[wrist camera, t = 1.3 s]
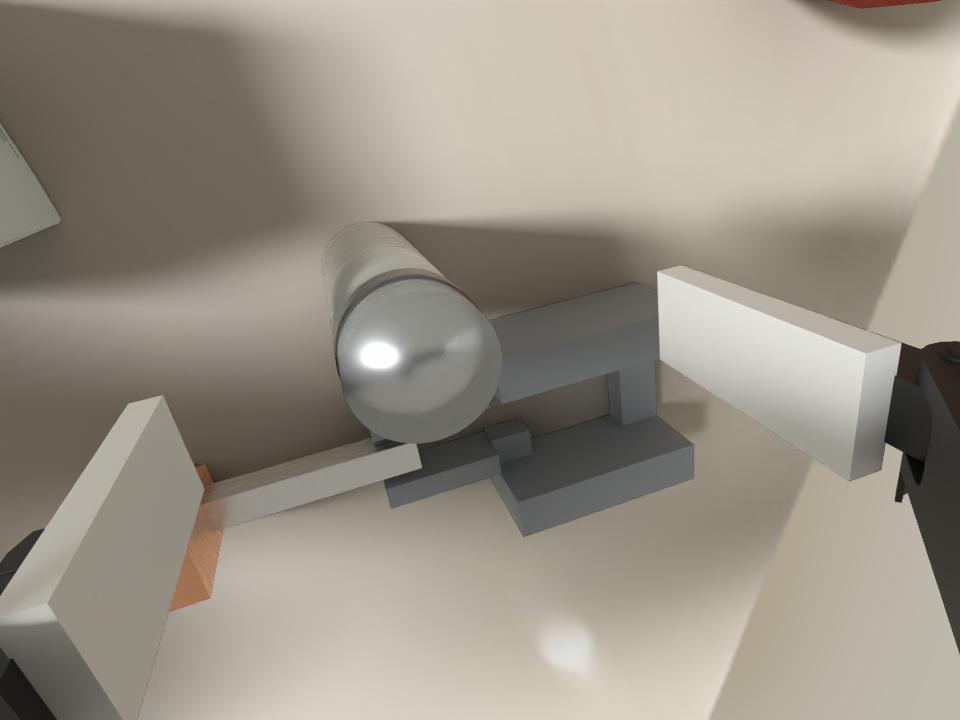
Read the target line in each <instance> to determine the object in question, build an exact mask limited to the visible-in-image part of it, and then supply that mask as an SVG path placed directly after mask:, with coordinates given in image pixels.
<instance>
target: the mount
mask: <svg viewBox="0 0 960 720" xmlns="http://www.w3.org/2000/svg"><path fill="white" fill-rule="evenodd" d="M488 321H489V322H490V323H491V325H492V327H493V328H494V330H495V332H496V334H497V337H498V340H499V343H500V347H501V353H502V370H501V376H500V380H499V384H498V387H497V389H496V392H495V394H494V396H493V398H492V399H491V401H492V400H495V399H498V400H499V401H500V403H501V404H505V403H509V402H512V401H515V400H519V399H522V398H526V397H529V396H533V395H536V394H540V393H543V392H546V391H550V390H553V389H557V388H560V387H564V386H567V385H570V384H574V383H577V382H581V381H584V380H588V379H591V378H594V377H598V376H601V375H605V374H607V379H608V393H609V406H610V415H607V416H604V417H600V418H597V419H594V420H591V421H587V422H584V423H581V424H578V425H574V426H571V427H568V428H565V429H561V430H558V431H555V432H552V433H548V434H545V435H542V436H539V437H535V438H532V439H531V437H530V430H529V429H528V427H527V426H526V425H525V423H524V422H523V421H522V420H521V418H517V419H513V420H510V421H507V422H503V423H500V424H497V425H493V426H490V427H487V428H483V429H484V432H481V433H477V434H474V435H471V436H467V437H464V438H461V439H457V440H454V441H451V442H447V443H444V444H441V445H437V446H434V447H431V448H427V449H424V450H421V451H418V453H419V457H420V461H421V465H422V468H420V469H417V470H414V471H411V472H407V473H404V474H401V475H398V476H394V477H391V478H388V479H385V480H384V483H385V487H386V491H387V495H388V498H389V502H390V506H391V509H392V508H395V507H398V506H401V505H404V504H407V503H411V502H414V501H417V500H420V499H423V498H426V497H429V496H433V495H436V494H439V493H442V492H445V491H448V490H451V489H455V488H458V487H461V486H464V485H467V484H470V483H474V482H477V481H480V480H483V479H486V478H489V477H492V478H493V483H494V485H495V487H496V489H497V491H498V492H499V494H500V496H501V498H502V499H503V501H504V503H505V505H506V507H507V508H508V510H509V512H510V514H511V516H512V517H513V519H514V521H515V523H516V524H517V526H518V528H519V530H520V532H521V533H522V535H523V537H525V536H528V535H531V534H534V533H537V532H540V531H542V530H545V529H548V528H551V527H554V526H557V525H560V524H563V523H566V522H569V521H571V520H574V519H577V518H580V517H583V516H586V515H589V514H592V513H595V512H598V511H601V510H603V509H606V508H609V507H612V506H615V505H618V504H621V503H624V502H627V501H630V500H632V499H635V498H638V497H641V496H644V495H647V494H650V493H653V492H656V491H659V490H661V489H664V488H667V487H670V486H673V485H676V484H679V483H682V482H685V481H688V480H691V479H693V478H694V444H692V443H691V442H690V441H689V440H687V439H686V438H685V437H683V436H682V435H681V434H680V433H678V432H677V431H676V430H675V429H673V428H672V427H671V426H669V425H668V424H667V423H666V422H664V421H663V420H662V419H660V418H659V417H658V416H657V415H656V387H655V360H656V359H660V344H659V312H658V291H656V290H654V289H652V288H649V287H647V286H645V285H642V284H640V283H638V282H635V283H631V284H628V285H624V286H620V287H616V288H612V289H608V290H604V291H600V292H597V293H593V294H589V295H585V296H581V297H577V298H573V299H569V300H566V301H562V302H558V303H554V304H550V305H546V306H542V307H538V308H535V309H531V310H527V311H523V312H519V313H515V314H511V315H507V316H504V317H500V318H496V319H492V320H488ZM487 409H490V403H489V404H488V406H487V407H486V408H485V410H487ZM369 431H370V434H371V438H372V441H373V442H377V441H380V440H384V439H387V438H384V437H381V436H380V435H378V434H376V433H374V432H372V431H371V430H370V429H369Z"/></svg>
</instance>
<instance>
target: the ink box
mask: <svg viewBox="0 0 960 720" xmlns="http://www.w3.org/2000/svg"><path fill="white" fill-rule="evenodd" d="M60 222H61V218H60V216H59V214H58V212H57V211H56V209H55V207H54V206H53V204H52V202H51V201H50V199H49V197H48V196H47V194H46V192H45V191H44V189H43V188H42V186H41V184H40V183H39V181H38V180H37V178H36V176H35V175H34V173H33V172H32V170H31V168H30V167H29V165H28V164H27V162H26V161H25V159H24V158H23V156H22V155H21V153H20V152H19V150H18V149H17V147H16V146H15V144H14V143H13V141H12V140H11V138H10V137H9V135H8V134H7V132H6V131H5V129H4V127H3V126H2V124H1V123H0V248H1V247H4V246H6V245H8V244H11V243H13V242H15V241H18V240H20V239H23V238H25V237H27V236H30V235H32V234H34V233H36V232H39V231H41V230H43V229H46V228H48V227H51V226H54V225H56V224H58V223H60Z"/></svg>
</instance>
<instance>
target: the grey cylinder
mask: <svg viewBox="0 0 960 720" xmlns="http://www.w3.org/2000/svg"><path fill="white" fill-rule="evenodd" d="M322 274H323V280H324V286H325V292H326V297H327V303H328V309H329V315H330V321H331V326H332V332H333V346H334V354H335V360H336V366H337V370H338V374H339V377H340V380H341V384H342V389H343V393H344V396H345V399H346V401H347V404H348V405H349V407H350V409H351V411H352V412H353V413H354V415H355V416H356V417H357V419H358V420H359V421H360V422H361V423H362V424H363V425H364V426H366V427H367V428H368V429H370V430H371V431H372V432H374V433H376V434H378V435H380V436H381V437H384V438H387V439H389V440H393V441H397V442H402V443H428V442H433V441H438V440H441V439H444V438H447V437H449V436H452V435H454V434H456V433H458V432H459V431H461V430H463V429H464V428H466V427H467V426H468V425H470V424H471V423H472V422H473V421H475V420H476V419H477V418H478V417H479V416H480V415H481V414H482V412H483V411H484V410H485V408H486V407H487V406H488V404H489V403H490V401H491V399H492V398H493V396H494V394H495V392H496V389H497V387H498V384H499V380H500V376H501V370H502V353H501V347H500V343H499V340H498V337H497V334H496V332H495V330H494V328H493V327H492V325H491V323H490V322H489V321H488V319H487V318H486V317H485V316H484V315H483V314H482V313H481V312H480V311H479V310H478V308H477V307H476V306H475V304H474V303H473V302H472V301H471V300H470V299H469V298H468V297H467V296H466V295H465V294H464V293H463V292H462V291H461V290H460V289H459V288H458V287H457V286H456V285H455V284H454V283H452V282H451V281H449V280H448V279H446V278H445V277H444V276H443V275H442V274H441V273H440V272H439V271H438V270H437V269H436V268H435V267H434V266H433V265H432V264H431V263H430V262H429V261H428V260H427V259H426V258H425V257H424V256H423V255H422V254H421V253H420V252H419V251H418V250H416V249H415V248H414V247H413V246H412V245H411V244H410V243H409V242H408V241H407V240H406V239H405V238H404V237H403V236H402V235H401V234H400V233H399V232H397V231H396V230H395V229H393V228H391V227H389V226H387V225H384V224H381V223H376V222H362V223H357V224H353V225H351V226H348V227H346V228H345V229H343V230H341V231H340V232H339V233H338V234H336V235H335V237H334V238H333V239H332V240H331V241H330V243H329V244H328V246H327V248H326V250H325V253H324V256H323V261H322Z"/></svg>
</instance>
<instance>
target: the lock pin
mask: <svg viewBox="0 0 960 720" xmlns="http://www.w3.org/2000/svg"><path fill="white" fill-rule="evenodd" d="M420 468H422V465H421V461H420V457H419V453H418V449H417V444H416V443H402V442H397V441H393V440H389V439H384V440H380V441H377V442H373V441H372V438H368V439H365V440H361V441H358V442H354V443H351V444H347V445H344V446H340V447H337V448H333V449H330V450H327V451H323V452H320V453H316V454H313V455H309V456H306V457H302V458H299V459H296V460H292V461H289V462H285V463H282V464H278V465H275V466H271V467H268V468H264V469H261V470H258V471H254V472H251V473H247V474H244V475H240V476H237V477H233V478H230V479H226V480H223V481H220V482H216V483H214V482H213V479H212V477H211V475H210V473H209V470H208V468H207V466H206V464H204V465H201V466H197V467H195V469H196V471H197V473H198V475H199V478H200V480H201V482H202V484H203V487H204V492H203V496H202V499H201V503H200V506H199V510H198V513H197V517H196V520H195V523H194V527H193V530H192V534H191V537H190V541H189V544H188V547H187V551H186V554H185V558H184V561H183V565H182V568H181V571H180V575H179V578H178V582H177V585H176V589H175V592H174V595H173V599H172V602H171V606H170V609H169V612H170V611H173V610H176V609H179V608H182V607H185V606H188V605H191V604H194V603H197V602H200V601H203V600H206V599H209V598H211V593H212V587H213V582H214V577H215V572H216V566H217V561H218V556H219V551H220V545H221V540H222V535H223V530H224V529H225V528H228V527H231V526H234V525H238V524H241V523H244V522H247V521H251V520H254V519H257V518H260V517H264V516H267V515H270V514H274V513H277V512H280V511H283V510H287V509H290V508H293V507H296V506H300V505H303V504H306V503H309V502H313V501H316V500H319V499H322V498H326V497H329V496H332V495H336V494H339V493H342V492H345V491H349V490H352V489H355V488H358V487H362V486H365V485H368V484H371V483H375V482H378V481H381V480H385V479H388V478H391V477H394V476H398V475H401V474H404V473H407V472H411V471H414V470H417V469H420Z"/></svg>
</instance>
